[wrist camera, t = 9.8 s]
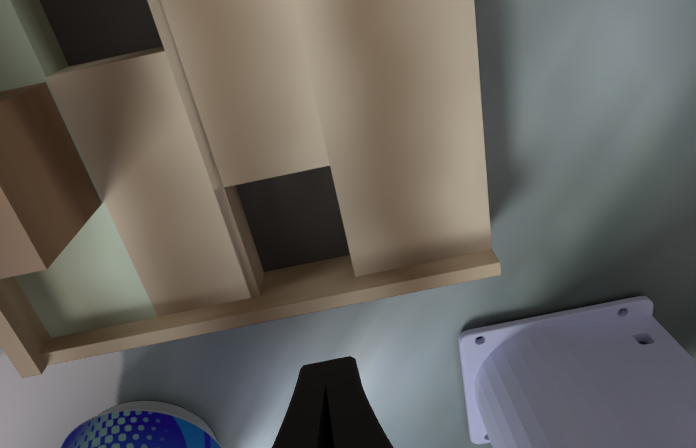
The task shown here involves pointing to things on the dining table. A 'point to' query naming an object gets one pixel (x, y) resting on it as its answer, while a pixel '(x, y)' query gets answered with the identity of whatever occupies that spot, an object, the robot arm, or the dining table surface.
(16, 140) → the walnut block
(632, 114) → the dining table surface
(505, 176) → the dining table surface
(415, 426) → the dining table surface
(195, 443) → the beer can
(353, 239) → the divided beige tray
